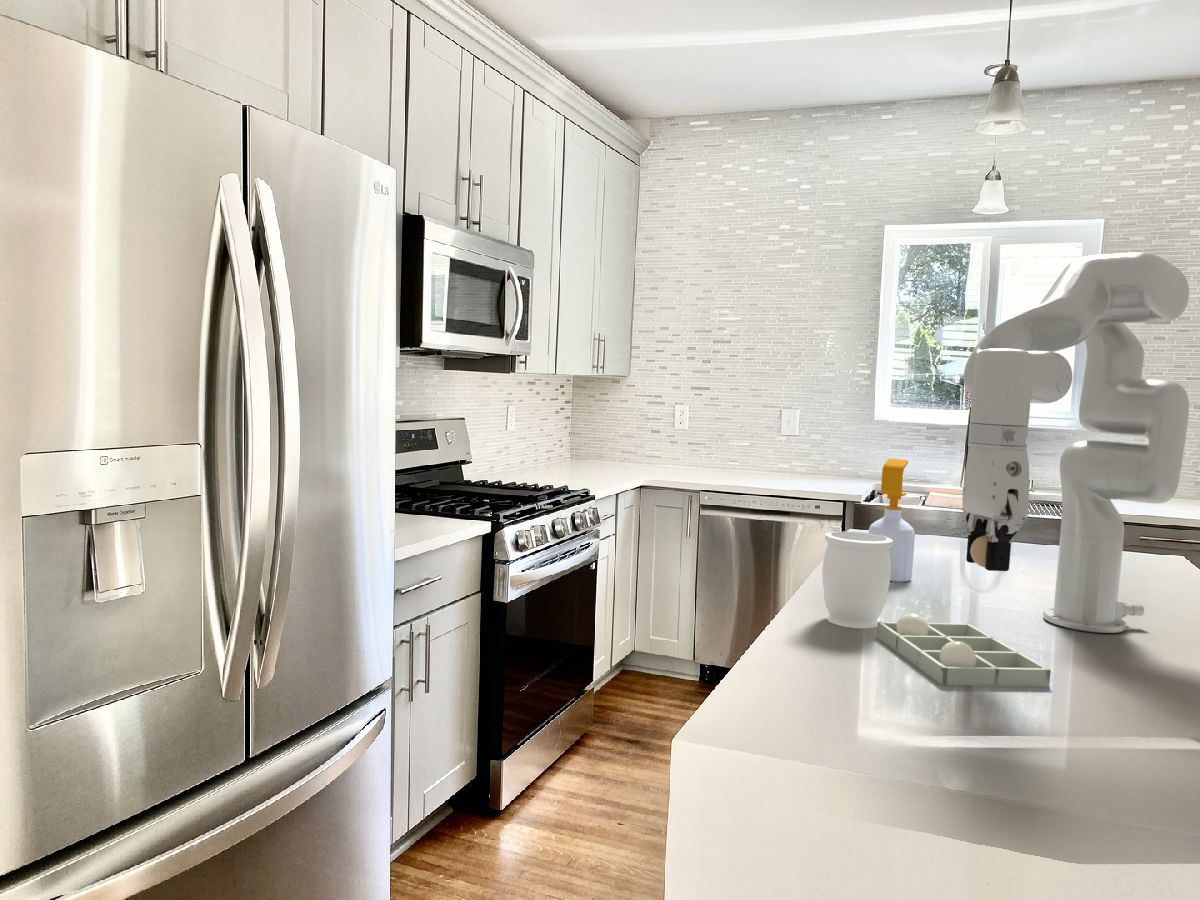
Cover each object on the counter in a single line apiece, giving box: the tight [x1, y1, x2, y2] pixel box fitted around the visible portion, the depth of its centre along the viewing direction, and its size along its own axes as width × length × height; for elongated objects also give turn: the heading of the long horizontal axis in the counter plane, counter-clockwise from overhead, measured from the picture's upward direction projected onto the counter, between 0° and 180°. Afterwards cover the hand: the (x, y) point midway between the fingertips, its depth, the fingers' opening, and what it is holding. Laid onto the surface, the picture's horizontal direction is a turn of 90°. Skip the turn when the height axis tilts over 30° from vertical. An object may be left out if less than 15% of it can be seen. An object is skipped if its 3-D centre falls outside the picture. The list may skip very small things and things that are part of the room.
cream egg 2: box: [939, 641, 976, 667], centre depth 119 cm, size 5×5×5 cm
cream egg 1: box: [896, 612, 929, 636], centre depth 133 cm, size 5×5×5 cm
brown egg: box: [970, 534, 991, 569], centre depth 126 cm, size 5×5×5 cm
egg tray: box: [876, 621, 1052, 688], centre depth 127 cm, size 15×22×3 cm
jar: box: [821, 531, 893, 629], centre depth 144 cm, size 11×10×15 cm
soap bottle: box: [868, 458, 916, 583], centre depth 184 cm, size 9×9×25 cm
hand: (987, 565), depth 126 cm, fingers closed on brown egg, 4 cm apart
